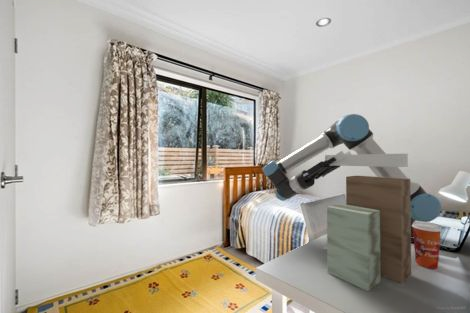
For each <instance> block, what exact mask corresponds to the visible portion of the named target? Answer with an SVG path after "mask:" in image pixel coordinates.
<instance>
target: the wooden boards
mask: <svg viewBox="0 0 470 313" xmlns="http://www.w3.org/2000/svg"><path fill="white" fill-rule="evenodd" d="M410 181H411V178H408V179H405V178H389V177H377V176H369V175H351V176H350V175H347V176H346V177H345V184H346V185H345V191H346V192H345V195H346V196H345V199H346V200H345V201H346V203H345V204H344V203H338V204H332V205H328V206H327V207H326V215H327V216H326V233H327V234H326V236H327V237H326V242H327V244H326V246H327V248H326V249H327V250H326V251H327V254H326V255H327V261H326V262H327V264H326V265H327V267H326V268H327V273H328V274H330V275H333V277H337V278H339V279H341V280H342V281H345V282H347V283H349V284H351V285H353V286H356V287H358V288H359V289H362V290H364V291H366V292H369V291H371V290H372V289H374V288H375V286H377V285H378V284H379V283H380V282H381V279H382V278H381V276H382V277H384V278H387V279H389V280H392V281H394V282H397V283H400V284H403V283H404V282H406V280H407V279H409V278H410V277H411V276H412V238H411V201H410Z"/></svg>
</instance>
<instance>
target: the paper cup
mask: <svg viewBox="0 0 470 313" xmlns="http://www.w3.org/2000/svg"><path fill="white" fill-rule="evenodd" d="M412 227H413V235H414V238H413V243H414V245H413V246H414V258H415V263H416V265H418V266H420V267H422V268H425V269H430V270H437V269H438V268H439V257H440V243H441V232H442V231H443V229H442V227H441V226H440V225H439V224H437V223H433V222H431V221H429V222H423V221H417V220H415V221H414V222H413V224H412Z"/></svg>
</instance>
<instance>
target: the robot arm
mask: <svg viewBox="0 0 470 313" xmlns="http://www.w3.org/2000/svg"><path fill="white" fill-rule="evenodd" d="M342 144H343V145H344V146H346V148H347V150H349V151H347V152H344V151H343V150H340V151H339V152H338V153H336V154H333V155H334V156H333V157H331V158H330V159H328V160H326V161H325V160H322V161H320V162H318V163H317V164H315V165H313V166H312V167H310V168H309V169H307V170H305V169H304V170H302V171H300V172H298V173H297V174H295V175H294V176H292V177H291V178H290V179H289V177H288V176H287V175H286V174H287V173H290V172H291V171H293V170H294V169H296V168H298V167H300V166H301V165H303V164H305V163H306V162H308V161H309V160H311V159H313V158H315V157H316V156H318V155H320V154H321V153H323V152H324V151H326V150H329V149H334V148H335V147H337V146H339V145H342ZM351 151H353V152H356V155H357V154H387V153H386V152H385V151H384V149H383V148H381V146H380V145H379V144H378V143H377V142H376V140H375V139H374V132H373V131H372V130H371V129H370V125H369V121H368V120H367V119H366V118H365V116H363V115H360V114H358V113H351V114H347V115H344V116H342V117H340V119H339V120H337V121H335V122H334V123H332V125H331V126H329V127H328V128H327V129H326V130H324V131H322V132H321V133H320V136H318V137H317V138H315V139H313V140H312V141H310V142H308V143H306V144H305V145H303V146H302V147H300V148H298V149H297V150H295V151H293V152H292V153H290V154H288V155H287V156H285V157H284V158H282V159H281V160H280V159H279V161H277V162H276V161H274V160H271V161H270V162H268V163H267V164H266V165H264V166H263V167H262V169H261V170H262V172H263V174H264V175H265V176H266V178H267V179H268V180H269V181H270V182H271V184H272V185H273V186H274V187H275V189H274V194H275V197H276V198H277V199H278V200H279V201H283V202H285V201H287V200H289V199H291V198H293V197H295V196H296V195H299V194H302V193H303V192H304V191H305V190H307V189H309V188H311V187H313V186H314V185H315V180H319V179H320V178H321V177H322V178H323V177H325V176H326V175H328V174H330V173H332V172H333V171H335V170H337V169H339V168H340V167H341V166H333V165H334V164H336V163H338V162H339V161H341V160H343V159H344V158H346V156H345V155H353V154H352V153H351ZM367 167H368V168H369V169H370V170H371V171H372V172H373V174H375V177H389V178H405V179H409V177H407V175H406V174H405V173H404V172H403V171H402V170H401V169H400V167H378V166H367ZM410 201H411V237H414V235H413V227H412V224H413V222H414V221H423V222H431V221H434V220H435V219H437V218H438V217H439V216H440V215H441V211H442V203H441V202H440V199H439V198H437V197H436V196H435V195H433V194H431V193H427V192H426V191H425V189H424V188H423V187H422V186H421V185H420V184H419V183H418V182H415V181H414V182H412V180H410Z"/></svg>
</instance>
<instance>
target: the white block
mask: <svg viewBox="0 0 470 313" xmlns="http://www.w3.org/2000/svg"><path fill="white" fill-rule="evenodd" d="M334 155H335V154H325V155H324V161H326V160H328V159H330V158H331V157H333V156H334ZM345 156H346V158H344V159H343V160H341V161H339V162H338V163H336V164H334V165H333V166H340V167H341V166H343V167H344V166H345V167H368V166H378V167H398V168H407V167H409V162H408V160H409V157H408V156H409V154H408V153H386V154H357V153H356V154H352V155H345Z"/></svg>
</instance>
